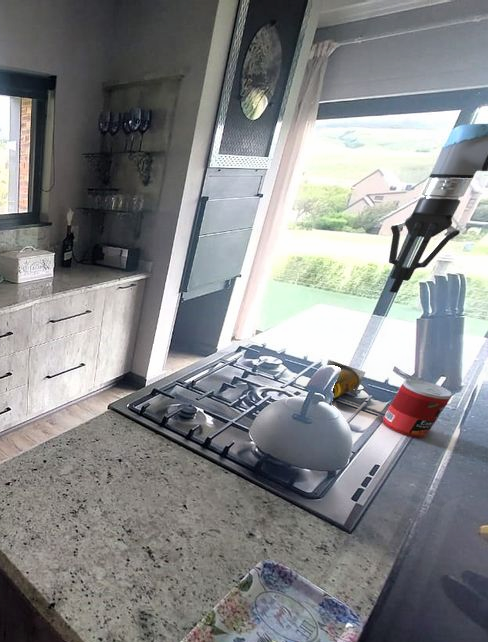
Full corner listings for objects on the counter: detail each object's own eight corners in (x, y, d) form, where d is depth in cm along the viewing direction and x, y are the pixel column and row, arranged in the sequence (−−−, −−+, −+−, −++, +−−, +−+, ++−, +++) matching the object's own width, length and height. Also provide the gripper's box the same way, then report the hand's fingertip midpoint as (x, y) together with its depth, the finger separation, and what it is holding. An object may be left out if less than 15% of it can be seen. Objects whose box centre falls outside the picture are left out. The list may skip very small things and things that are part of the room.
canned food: (415, 441, 90) (442, 399, 85) (373, 422, 97) (396, 382, 91) (433, 433, 93) (460, 392, 88) (391, 415, 99) (414, 376, 94)
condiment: (354, 395, 108) (330, 408, 103) (319, 382, 114) (295, 393, 110) (366, 372, 104) (341, 383, 99) (329, 359, 111) (304, 369, 106)
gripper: (403, 196, 101) (360, 288, 112) (478, 200, 93) (425, 299, 104) (406, 195, 106) (365, 284, 117) (478, 199, 97) (427, 294, 108)
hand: (393, 291), depth 110 cm, fingers closed
